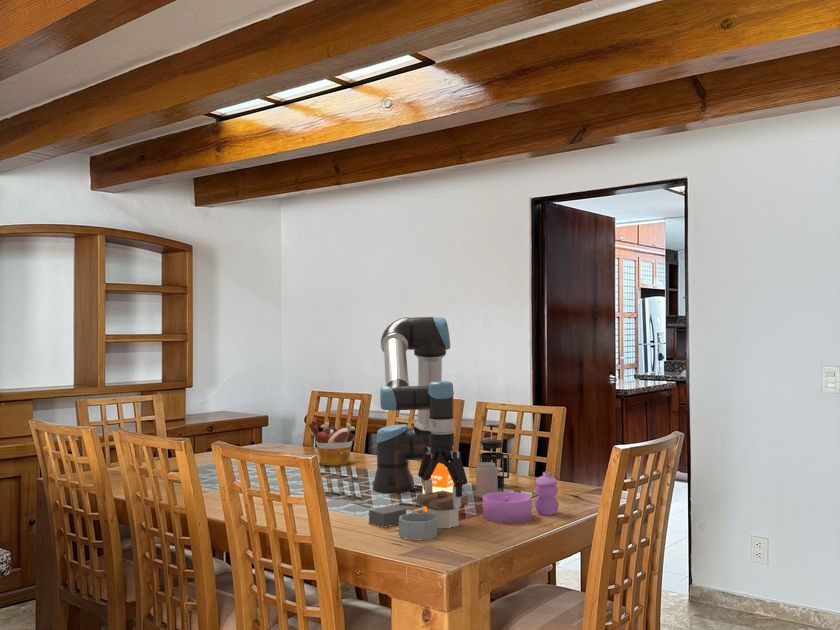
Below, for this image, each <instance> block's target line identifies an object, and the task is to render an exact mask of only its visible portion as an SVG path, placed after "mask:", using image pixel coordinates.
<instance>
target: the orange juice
mask: <svg viewBox="0 0 840 630" xmlns="http://www.w3.org/2000/svg"><path fill="white" fill-rule="evenodd" d="M431 457H432V455H431ZM449 462H450V461H449ZM429 480H430V479H429ZM431 480H432V489H433V492H437V491H442V490H443V491H447V492H452V493H453V486H454V485H455V484H454V482H453V480H452V478H451V476H450V474H449V472H448V470H447V467H445V466H444V464H441V463H438V464H437V466H436V468H435V470H434V472H433V474H432V476H431ZM424 494H425V490H424V489H423V488H422V495H424ZM423 511H425V512H424V513H427V507H426V506H422V512H423Z"/></svg>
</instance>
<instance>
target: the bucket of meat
mask: <svg viewBox="0 0 840 630" xmlns="http://www.w3.org/2000/svg"><path fill="white" fill-rule="evenodd" d="M329 425H330V422H328V421H327V422H325V424H321V426H320V428H321V429H324V430H322V431H319V427H318V423H317V421H316V420H315V419H313V420H311V422H309V423H308V426H309V428H310V430H311V432H312V433H313V435H314V437H315V439H316V440H315V444H316V449H317V453H318V457H319V461H320V463H321V464H322V465H323V466H324V465H327V466H326V467H340V466H339V465H342V466H345V465H347V464H348V462H349V459H350V454H351V451H352V447H353V446H352V445H353V441H354V438H355V436H356V435H355V434H354V433H353V432H352V431H355V430H356V428H355V427H354V426H351V424H350V423H348V422H347V423H346V427H343V426H339V427H338V429H337V428H336V427H335V425H331V426H329Z"/></svg>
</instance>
